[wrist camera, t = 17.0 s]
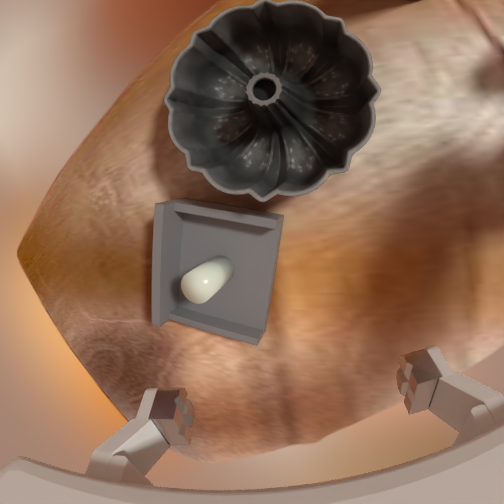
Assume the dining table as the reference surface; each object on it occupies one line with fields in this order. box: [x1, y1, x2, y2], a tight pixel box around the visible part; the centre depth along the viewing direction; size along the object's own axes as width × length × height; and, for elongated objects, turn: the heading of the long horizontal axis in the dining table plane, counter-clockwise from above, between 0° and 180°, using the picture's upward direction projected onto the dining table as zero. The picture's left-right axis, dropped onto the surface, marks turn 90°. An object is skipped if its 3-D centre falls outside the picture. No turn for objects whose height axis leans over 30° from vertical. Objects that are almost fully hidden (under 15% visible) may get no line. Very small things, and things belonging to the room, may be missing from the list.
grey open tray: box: [152, 198, 284, 345], centre depth 46 cm, size 16×19×8 cm
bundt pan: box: [164, 0, 381, 202], centre depth 37 cm, size 26×26×10 cm
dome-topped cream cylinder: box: [181, 255, 234, 304], centre depth 44 cm, size 4×4×8 cm
